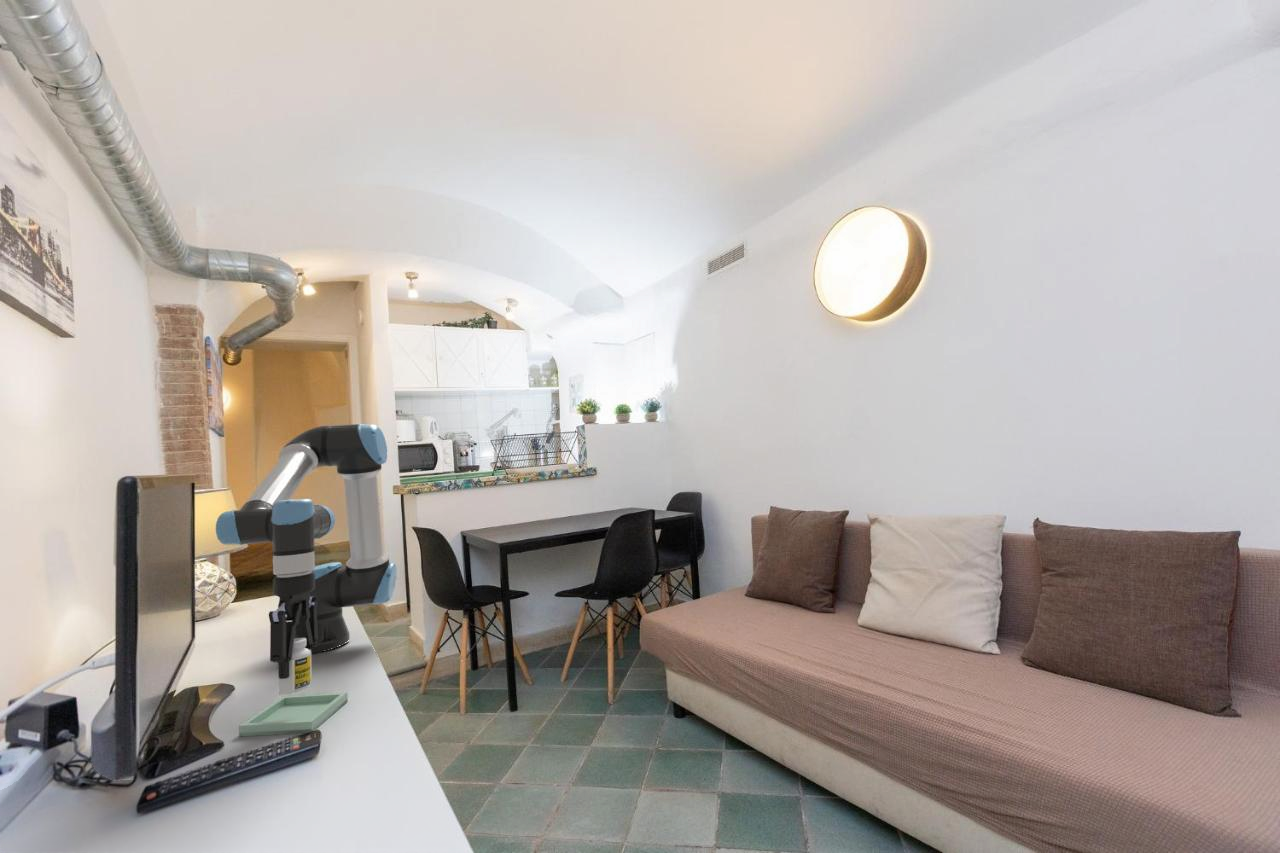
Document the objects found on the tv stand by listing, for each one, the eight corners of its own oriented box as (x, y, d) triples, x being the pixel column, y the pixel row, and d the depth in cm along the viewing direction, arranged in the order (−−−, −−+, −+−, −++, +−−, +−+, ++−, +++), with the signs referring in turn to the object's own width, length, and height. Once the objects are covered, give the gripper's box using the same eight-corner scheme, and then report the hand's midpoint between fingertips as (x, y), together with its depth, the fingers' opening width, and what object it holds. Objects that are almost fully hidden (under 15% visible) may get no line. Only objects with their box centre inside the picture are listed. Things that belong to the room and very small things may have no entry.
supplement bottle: (296, 694, 115) (295, 644, 115) (273, 693, 116) (272, 644, 116) (316, 683, 120) (316, 636, 121) (294, 683, 121) (294, 636, 122)
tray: (283, 705, 125) (282, 696, 125) (347, 701, 125) (347, 692, 125) (239, 736, 111) (238, 725, 111) (311, 732, 111) (311, 721, 111)
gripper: (301, 566, 129) (303, 672, 127) (246, 583, 110) (247, 707, 109) (335, 564, 129) (337, 670, 127) (285, 581, 110) (287, 705, 109)
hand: (295, 687), depth 118 cm, fingers closed on supplement bottle, 5 cm apart
